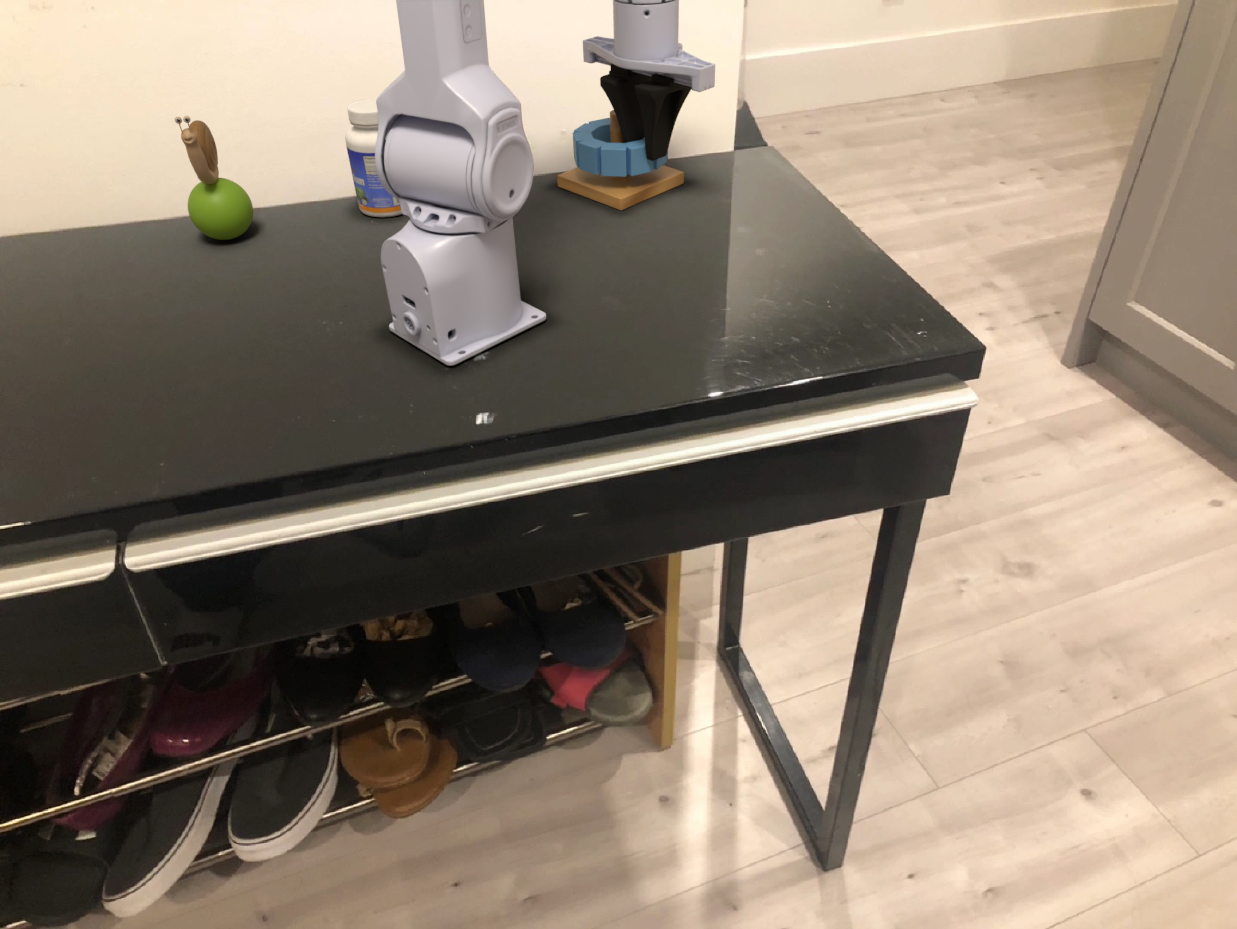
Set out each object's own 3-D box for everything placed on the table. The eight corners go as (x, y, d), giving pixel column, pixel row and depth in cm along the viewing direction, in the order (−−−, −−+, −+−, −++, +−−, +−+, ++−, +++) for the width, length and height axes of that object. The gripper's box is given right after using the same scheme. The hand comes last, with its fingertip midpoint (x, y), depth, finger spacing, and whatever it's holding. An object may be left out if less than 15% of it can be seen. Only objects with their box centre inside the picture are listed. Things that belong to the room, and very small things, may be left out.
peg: (621, 210, 87) (619, 134, 82) (557, 186, 92) (552, 113, 87) (684, 183, 92) (685, 110, 87) (620, 161, 97) (618, 91, 92)
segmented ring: (622, 184, 85) (621, 156, 83) (555, 160, 90) (553, 134, 89) (686, 157, 90) (686, 130, 88) (619, 136, 95) (618, 110, 94)
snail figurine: (192, 257, 81) (145, 120, 74) (203, 228, 86) (160, 96, 79) (256, 250, 82) (215, 114, 74) (262, 221, 87) (225, 90, 79)
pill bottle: (357, 200, 90) (335, 99, 84) (412, 193, 91) (395, 92, 85) (362, 222, 86) (340, 117, 80) (419, 214, 87) (402, 110, 81)
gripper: (741, 0, 77) (732, 160, 85) (618, -22, 85) (622, 126, 93) (685, 16, 73) (682, 182, 82) (562, -9, 81) (571, 144, 90)
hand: (646, 153), depth 87 cm, fingers closed on segmented ring, 2 cm apart
